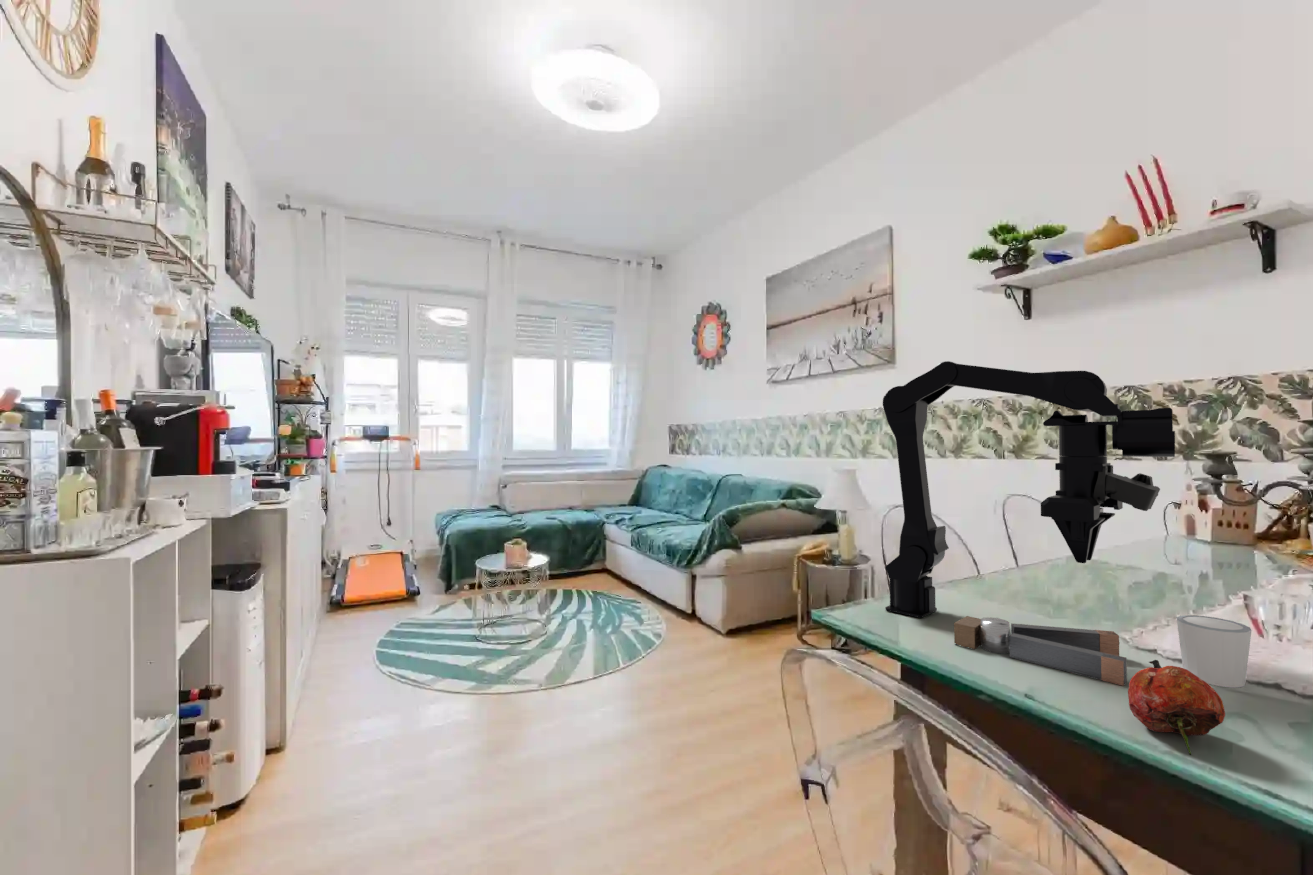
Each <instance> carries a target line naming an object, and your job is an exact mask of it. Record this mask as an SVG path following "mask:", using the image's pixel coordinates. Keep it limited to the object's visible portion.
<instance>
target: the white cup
mask: <svg viewBox="0 0 1313 875" xmlns="http://www.w3.org/2000/svg"><path fill="white" fill-rule="evenodd" d="M1176 625H1177V632H1178V640H1179V641H1178V642H1179V648H1180V649H1179V650H1180V657H1181V662H1182V663H1181V664H1182V668H1184V669H1187V670H1188V671H1190V672H1191V673H1193V674H1194V675H1196V676H1197V677H1199V678H1200V679H1201V680H1203V681H1205V682H1206V683H1208V684H1209V685H1210V686H1211V685H1213V686H1218V687H1221V688H1222V687H1224V688H1225V687H1226V688H1234V689H1235V688H1242V687H1245V686H1246V681H1247V672H1248V666H1249V665H1248V664H1249V655H1250V646H1251V638H1252V631H1253V630H1252V628H1251V627H1250V626H1247V625H1246V624H1243V623H1240V622H1237V621H1233V620H1228V619H1224V618H1219V617H1214V616H1213V617H1212V616H1207V615H1195V614H1194V615H1192V614H1187V615H1185V614H1183V615H1178V616H1176Z"/></svg>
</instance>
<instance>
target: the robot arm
mask: <svg viewBox="0 0 1313 875" xmlns="http://www.w3.org/2000/svg"><path fill="white" fill-rule="evenodd" d="M954 387H962V388H970V389H974V390H975V389H976V390H983V391H984V390H985V391H990V392H998V393H1006V394H1012V395H1019V396H1024V397H1025V396H1027V397H1030V398H1034V399H1038V400H1041V401H1044V402H1046V403H1047V402H1048V403H1050V404H1053V405H1057V406H1060V407H1063V408H1068V409H1071V410H1074V411H1079V412H1087V411H1092V412H1094V413H1095V414H1097V415H1099V416H1102V417H1106V418H1112V417H1113V418H1114V417H1116V420H1115V421H1108V420H1107V421H1089V418H1088V415H1087V414H1063V413H1062V412H1061V411H1059V410H1054V412H1053V413H1052V415H1051V416H1050V417H1048V418H1047V419H1046V420H1044V421H1043V423H1042V424H1043V426H1044V427H1058V444H1059V445H1058V447H1059V449H1058V453H1059V456H1058V461H1059V462H1056V463H1055V468H1054V469H1055V471H1059V475H1058V476H1059V489H1057V490H1055V495H1050V496H1048V497H1046V498H1045V499H1043V501H1041V502H1040V517H1046V518H1051V520H1053V522H1054V523H1055V524H1056V526H1057V528H1058V530H1059V531H1060V534H1061V536H1062V537H1063V538H1064V541H1065V542H1066V545H1067V546H1068V549H1069V550H1070V553H1071V554H1072V556H1073V558H1074V560H1075V561H1076V563H1077V564H1085V563H1087V561H1091V560H1092V558H1093V554H1094V552H1095V548H1096V545H1097V544H1096V543H1097V540H1098V537H1099V534H1100V531H1101V527H1102V525H1104V523H1105V522H1107V521H1108V520H1110V519H1111V518H1112V517H1114V516H1115V515H1116V512H1115V513H1114V512H1104V508H1113V510H1117V511H1118V510H1122V509H1123V508H1124V507H1123V503H1124V504H1127V505H1129V506H1131V507H1132V508H1133V509H1136V510H1141V511H1143V512H1144V511H1145V512H1147V511H1149V510H1151V509H1152V507H1153V505H1154V504H1155V501H1156V499H1157V497H1158V496H1159V493H1160V492H1161V488H1160V486H1156V485H1154V482H1153V477H1152V476H1150V475H1147V474H1144V473H1141V472H1140V473H1137V474H1135V475H1134V476H1132V477H1131V478H1130V477H1128V476H1123V475H1120V474H1116V473H1114V465H1113V464H1111V462H1108V444H1107V443H1108V441H1107V440H1108V436H1107V434H1108V433H1107V429H1108V428H1107V426H1111V441H1112V442H1111V443H1112V444H1111V446H1112V450H1113V451H1114V450H1117V451H1122V452H1121V453H1122V457H1125V458H1126V457H1128V458H1129V457H1130V458H1131V457H1132V458H1133V457H1134V458H1135V457H1137V458H1138V457H1143V458H1144V457H1145V458H1149V457H1150V458H1155V457H1156V458H1175V456H1176V455H1175V454H1176V433H1175V432H1176V431H1175V430H1174V429H1173V428H1174V425H1173V408H1171V407H1159V408H1154V409H1140V410H1139V409H1138V410H1137V409H1136V410H1121V409H1120V405H1119V403H1114V402H1113V401H1112V400H1111V399H1110V398H1109V397H1108V396H1107V392H1108V388H1107V385H1106V383H1105V382H1104V380H1102V378H1101V377H1100V376H1098V375H1097V374H1096V373H1094V372H1092V371H1087V370H1063V371H1062V370H1060V371H1059V370H1057V371H1043V372H1041V371H1040V372H1028V371H1019V370H1011V369H1004V368H996V367H988V366H987V367H986V366H978V365H971V364H970V365H969V364H963V363H956V362H954V361H949V360H948V361H942V362H940V363H938V364H937V365H936V366H935V367H934V368H931V370H929V371H927V372H924V373H922V374H920V375H919V376H917V377H915V378H913V379H912V380H909V382H907V383H905V384H904V385H897V386H894V387H892V388H891V389H889V390H888V391H887V392H886V393H885V395H883V398H882V407H883V408H882V409H883V410H884V414H885V419H886V421H887V423H888V426H889V428H890V431H891V432H892V434H893V436H894V439H895V443H896V444H895V445H896V452H897V460H898V461H897V462H898V470H899V480H900V488H901V498H902V507H903V515H904V520H903V524H902V528H901V533H900V537H899V552H898V553H899V554H898V556H896V557H894V559H893V560H891V561H890V562H889V563H888V564H886V566H885V570H886V573H887V576H888V578H889V605H887V606H885V611H888V612H893V613H896V614H897V613H898V614H901V615H906V616H910V617H914V618H918V619H919V618H920V619H921V618H922V619H923V618H924V617H926V616H928V615H931V614H933V613H935V612H937V611H938V608H937V607H936V587H935V586H934V585H933V577H932V576H928V575H930V574H932V572H933V569H934V568H935V567H936V566H937V565H939V564H940V563H941V561H943V559H945V554H946V551H947V550H949V546H948V544H947V541H946V540H947V539H946V535H947V534H946V530H947V529H946V526H945V525H942V526H941V525H940V526H938V525H937V524H936V522H935V519H934V517H933V515H932V506H931V499H930V498H931V496H930V488H929V479H928V474H927V464H926V463H927V462H926V454H925V445H924V433H925V430H926V424H927V421H928V420H927V419H928V408H929V405H931V404H933V403H934V402H935V401H937V400H938V399H940V398H941V397H942V396H943V395H944V394H946V393H947V392H948V391H949V390H951V389H952V388H954Z"/></svg>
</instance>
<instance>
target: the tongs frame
mask: <svg viewBox="0 0 1313 875" xmlns="http://www.w3.org/2000/svg"><path fill="white" fill-rule="evenodd" d="M953 626H954V628H953V630H954V631H953V632H954V633H953V635H954V637H953V638H954V643H956V644H958V645H961V646H960V647H962V646H963V648H966V647H969V648H968V649H970V648H972V649H971V650H977V649H979V647H980V648H981V649H982V650H984V651H986V652H989V653H992V654H1004V655H1005V654H1009V658H1010V659H1016V660H1020V661H1023V662H1028V663H1032V664H1035V665H1039V666H1044V667H1047V668H1050V669H1051V668H1052V669H1055V670H1059V671H1064V672H1067V673H1072V674H1075V675H1080V676H1084V677H1088V678H1093V679H1094V680H1095V679H1096V680H1100V681H1103V682H1106V683H1110V684H1114V685H1115V684H1116V685H1119V686H1123V687H1124V686H1125V685H1126V683H1128V681H1127V680H1128V677H1127V676H1128V673H1127V670H1128V668H1127V664H1128V663H1127V662H1128V661H1127V657H1125V656H1120V655H1119V656H1117V655H1112V654H1108V653H1102V652H1097V651H1093V650H1088V649H1084V648H1079V647H1075V646H1070V645H1066V644H1061V643H1056V642H1052V641H1047V640H1043V639H1038V638H1034V637H1029V636H1024V635H1020V634H1015V633H1013V634H1011V633H1010V631H1011V625H1010V622H1009V621H1008V620H1006V619H1002V618H999V617H989V616H987V617H982V618H979V617H978V618H977V617H973V616H969V615H967V616H964V617H963V618H960V619H958V620H957V621H955V622H953ZM954 643H953V644H954ZM958 645H957V646H958Z"/></svg>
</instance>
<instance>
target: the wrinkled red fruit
mask: <svg viewBox="0 0 1313 875" xmlns="http://www.w3.org/2000/svg"><path fill="white" fill-rule="evenodd" d="M1148 663H1149V664H1152V665H1153V667H1152V666H1151V667H1150V666H1149V667H1146V668H1143V669H1141V670H1139V671H1137V672H1135V674H1134V675H1133V676H1132V677H1131V679H1130V680H1129V683H1128V688H1127V689H1128V690H1127V694H1128V695H1127V696H1128V707H1129V709H1130V712H1132V715H1133V716H1134V717H1135V718H1136V720H1138V721H1139V722H1140V723H1141V724H1142V725H1143V726H1145V727H1146V728H1147V729H1148V730H1150V731H1153V732H1155V733H1156V732H1157V733H1158V732H1159V733H1174V734H1180V735H1181V737H1182V739H1183V741H1184V743H1185V746H1186V748H1187V751H1188V753H1189V756H1192V752H1191V748H1190V747H1191V746H1190V745H1189V737H1188V736H1205V735H1207V734H1209V732H1210V731H1211V730H1213V729H1215V728H1216V727H1219V725H1221V724H1222V723H1223V721H1224V719H1225V717H1226V711H1225V705H1224V702H1223V699H1222V698H1221V697H1220V694H1218V693H1217V691H1216V690H1215V689H1214V688H1213V687H1212V686H1211V684H1208V683H1206V682H1205V681H1203V680H1201V679H1200V678H1199V677H1197V676H1196V675H1194V674H1193V673H1191V672H1190V671H1188V670H1187V669H1184V668H1183V667H1181V666H1174V665H1165V666H1163V667H1162V666H1161V664H1160V661H1159V660H1158V659H1154V660H1152V661H1148Z"/></svg>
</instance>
